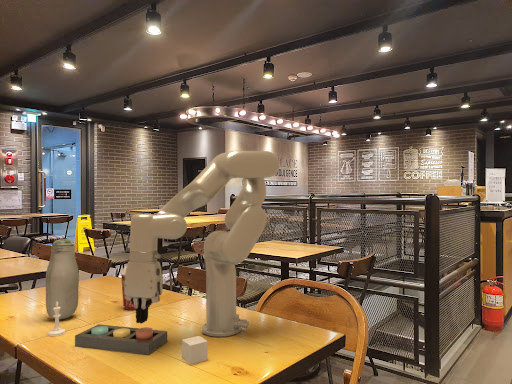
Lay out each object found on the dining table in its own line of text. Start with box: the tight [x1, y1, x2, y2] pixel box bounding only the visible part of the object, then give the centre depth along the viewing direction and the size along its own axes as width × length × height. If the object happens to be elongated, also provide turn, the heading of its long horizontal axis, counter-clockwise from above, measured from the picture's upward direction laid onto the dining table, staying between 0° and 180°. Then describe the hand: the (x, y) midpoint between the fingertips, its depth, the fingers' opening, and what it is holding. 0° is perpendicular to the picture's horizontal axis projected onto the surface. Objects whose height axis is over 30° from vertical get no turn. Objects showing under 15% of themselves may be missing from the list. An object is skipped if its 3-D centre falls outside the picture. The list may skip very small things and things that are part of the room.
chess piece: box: [47, 301, 66, 337], centre depth 119 cm, size 5×5×10 cm
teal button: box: [91, 326, 108, 336], centre depth 112 cm, size 5×5×3 cm
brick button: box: [136, 326, 154, 341], centre depth 108 cm, size 5×5×3 cm
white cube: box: [181, 335, 209, 366], centre depth 99 cm, size 5×5×5 cm
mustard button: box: [113, 328, 130, 338], centre depth 110 cm, size 5×5×3 cm
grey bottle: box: [45, 238, 80, 321], centre depth 134 cm, size 10×10×28 cm
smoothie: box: [120, 264, 136, 311], centre depth 146 cm, size 8×8×20 cm
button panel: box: [74, 323, 168, 356], centre depth 110 cm, size 24×10×3 cm, turn 74°
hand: (141, 321), depth 107 cm, fingers closed
